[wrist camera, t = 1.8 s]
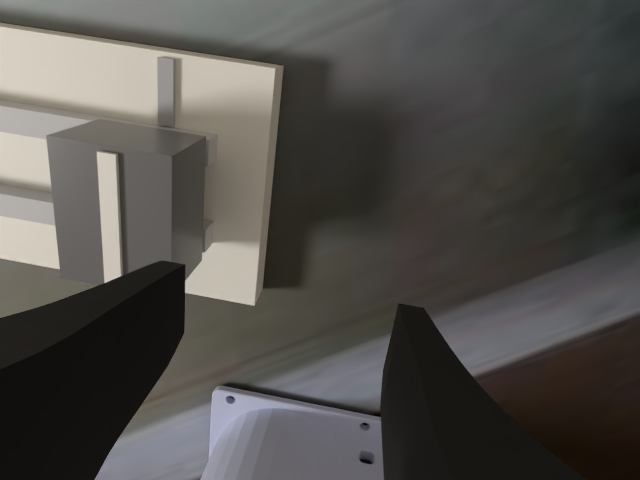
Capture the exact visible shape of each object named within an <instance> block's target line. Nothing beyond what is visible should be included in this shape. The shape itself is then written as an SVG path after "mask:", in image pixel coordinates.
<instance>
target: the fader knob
mask: <svg viewBox="0 0 640 480" xmlns="http://www.w3.org/2000/svg"><path fill="white" fill-rule="evenodd" d="M46 139H47V149H48V159H49V168H50V178H51V188H52V198H53V208H54V217H55V227H56V237H57V247H58V256H59V266H60V276H61V278H66V279H71V280H77V281H82V282H87V283H92V284H98V285H101V284H103V283H106V282H108V281H111V280H113V279H116V278H118V277H120V276H123V275H125V274H127V273H130V272H132V271H135V270H137V269H139V268H142V267H144V266H147V265H150V264H152V263H155V262H158V261H162V260H163V261H169V262H174V263H180V264H185V281H186V279H187V278H188V277H189V276H190V274H191V273H192V272H193V271H194V270H195V268H196V267H197V266H198V265H199V263H200V262H201V261H202V245H203V216H204V187H205V158H206V136H201V135H195V134H189V133H183V132H177V131H171V130H165V129H159V128H152V127H146V126H140V125H134V124H128V123H122V122H116V121H110V120H104V119H97V120H94V121H91V122H88V123H84V124H81V125H78V126H75V127H71V128H68V129H65V130H62V131H58V132H55V133H52V134H49V135H46Z"/></svg>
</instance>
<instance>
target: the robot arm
mask: <svg viewBox="0 0 640 480" xmlns="http://www.w3.org/2000/svg"><path fill="white" fill-rule="evenodd" d="M184 319H185V264H180V263H174V262H169V261H163V260H162V261H158V262H155V263H152V264H150V265H147V266H144V267H142V268H139V269H137V270H135V271H132V272H130V273H127V274H125V275H123V276H120V277H118V278H116V279H113V280H111V281H108V282H106V283H103V284H101V285H99V286H96V287H94V288H91V289H88V290H86V291H83V292H80V293H78V294H75V295H72V296H69V297H67V298H64V299H61V300H59V301H56V302H53V303H50V304H47V305H44V306H41V307H38V308H34V309H31V310H28V311H24V312H21V313H17V314H13V315H10V316H6V317H2V318H0V480H94V479H95V477H96V476H97V474H98V472H99V470H100V468H101V466H102V465H103V463H104V461H105V459H106V457H107V455H108V454H109V452H110V451H111V449H112V447H113V446H114V444H115V443H116V441H117V439H118V438H119V436H120V435H121V433H122V432H123V430H124V429H125V428H126V426H127V425H128V423H129V422H130V420H131V419H132V417H133V416H134V414H135V413H136V412H137V410H138V409H139V407H140V406H141V404H142V403H143V401H144V400H145V399H146V397H147V396H148V394H149V393H150V391H151V390H152V388H153V387H154V385H155V384H156V382H157V381H158V380H159V378H160V377H161V375H162V374H163V372H164V371H165V369H166V368H167V366H168V364H169V362H170V360H171V359H172V357H173V355H174V353H175V351H176V349H177V347H178V344H179V342H180V340H181V338H182V336H183V334H184ZM229 396H232V397H234V398H235V399H232V398H230V397H229ZM380 411H381V417H377V416H372V415H367V414H362V413H357V412H352V411H347V410H342V409H337V408H332V407H327V406H322V405H317V404H312V403H307V402H302V401H297V400H292V399H286V398H281V397H276V396H271V395H266V394H261V393H256V392H251V391H246V390H241V389H236V388H231V387H226V386H218V387H216V388H215V390H214V392H213V394H212V406H211V426H210V446H209V461H208V463H207V465H206V468H205V470H204V473H203V475H202V477H201V480H587V479H586V478H585V477H583V476H582V475H580V474H579V473H578V472H576V471H575V470H573V469H572V468H571V467H569V466H568V465H567V464H565V463H564V462H563V461H561V460H560V459H559V458H558V457H556V456H555V455H554V454H552V453H551V452H550V451H549V450H547V449H546V448H545V447H544V446H543V445H541V444H540V443H539V442H538V441H537V440H536V439H534V438H533V437H532V436H531V435H530V434H528V433H527V432H526V431H525V430H524V429H523V428H522V427H520V426H519V425H518V424H517V423H516V422H515V421H514V420H513V419H512V418H511V417H510V416H509V415H508V414H507V413H506V412H505V411H504V410H503V409H502V408H501V407H500V406H499V405H498V404H497V403H496V402H495V401H494V400H493V399H492V398H491V397H490V396H489V395H488V394H487V393H486V392H485V391H484V390H483V388H482V387H481V386H480V385H479V384H478V383H477V381H476V380H475V379H474V378H473V377H472V376H471V374H470V373H469V372H468V371H467V370H466V368H465V367H464V366H463V364H462V363H461V362H460V361H459V359H458V358H457V356H456V355H455V354H454V352H453V351H452V350H451V348H450V347H449V345H448V344H447V342H446V341H445V339H444V338H443V336H442V335H441V333H440V332H439V330H438V329H437V327H436V326H435V324H434V323H433V321H432V320H431V318H430V317H429V315H428V314H427V312H426V311H425V309H424V308H421V307H415V306H410V305H404V304H398V308H397V313H396V317H395V321H394V326H393V330H392V334H391V339H390V343H389V347H388V351H387V356H386V360H385V364H384V369H383V378H382V390H381V405H380ZM362 423H367V424H368V425H363V424H362Z"/></svg>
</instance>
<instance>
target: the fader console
mask: <svg viewBox="0 0 640 480" xmlns="http://www.w3.org/2000/svg"><path fill="white" fill-rule="evenodd" d="M283 68H284V66H283V65H276V64H270V63H263V62H256V61H250V60H243V59H237V58H230V57H223V56H217V55H210V54H204V53H197V52H190V51H184V50H177V49H171V48H164V47H157V46H151V45H144V44H138V43H131V42H124V41H118V40H111V39H105V38H98V37H92V36H85V35H78V34H72V33H65V32H59V31H52V30H45V29H39V28H32V27H26V26H19V25H12V24H6V23H0V258H2V259H7V260H12V261H18V262H23V263H28V264H34V265H39V266H45V267H50V268H55V269H60V266H59V256H58V247H57V237H56V227H55V217H54V208H53V198H52V188H51V178H50V168H49V159H48V149H47V139H46V135H49V134H52V133H55V132H58V131H62V130H65V129H68V128H71V127H75V126H78V125H81V124H84V123H88V122H91V121H94V120H97V119H104V120H110V121H116V122H122V123H128V124H134V125H140V126H146V127H152V128H159V129H165V130H171V131H177V132H183V133H189V134H195V135H201V136H206V158H205V187H204V216H203V245H202V261H201V262H200V263H199V265H198V266H197V267H196V268H195V270H194V271H193V272H192V273H191V274H190V276H189V277H188V278H187V279H186V281H185V293H189V294H195V295H200V296H205V297H211V298H216V299H221V300H227V301H232V302H237V303H243V304H248V305H255V303H256V301H257V299H258V297H259V295H260V293H261V291H262V289H263V279H264V268H265V258H266V247H267V237H268V226H269V215H270V205H271V194H272V184H273V173H274V163H275V152H276V142H277V131H278V121H279V110H280V99H281V89H282V78H283Z"/></svg>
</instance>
